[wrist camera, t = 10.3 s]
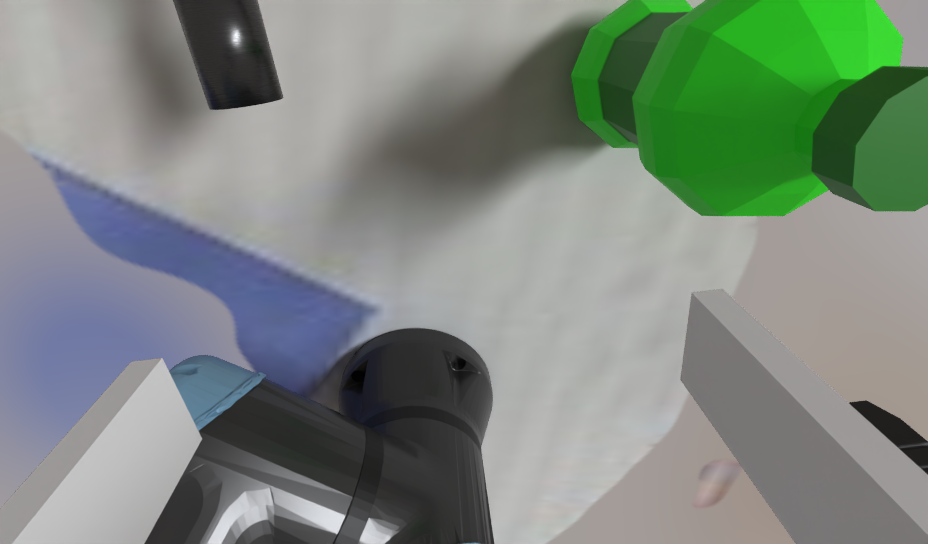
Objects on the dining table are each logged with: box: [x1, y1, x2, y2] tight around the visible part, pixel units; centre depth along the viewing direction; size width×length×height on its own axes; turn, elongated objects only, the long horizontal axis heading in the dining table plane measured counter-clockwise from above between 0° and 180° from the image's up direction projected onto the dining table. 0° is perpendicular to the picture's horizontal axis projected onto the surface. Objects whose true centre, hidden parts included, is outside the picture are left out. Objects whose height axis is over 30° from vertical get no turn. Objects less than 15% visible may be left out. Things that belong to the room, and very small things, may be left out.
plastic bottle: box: [571, 0, 928, 216], centre depth 25 cm, size 10×10×25 cm
